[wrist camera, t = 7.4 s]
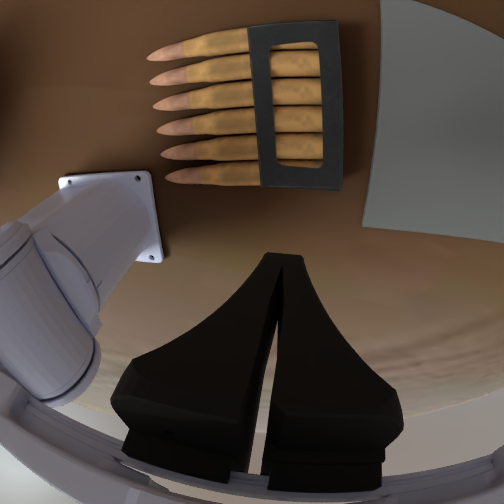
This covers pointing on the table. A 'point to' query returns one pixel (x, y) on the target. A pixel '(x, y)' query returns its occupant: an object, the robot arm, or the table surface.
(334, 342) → the robot arm
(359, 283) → the table surface
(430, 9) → the mat
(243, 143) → the ammunition clip
